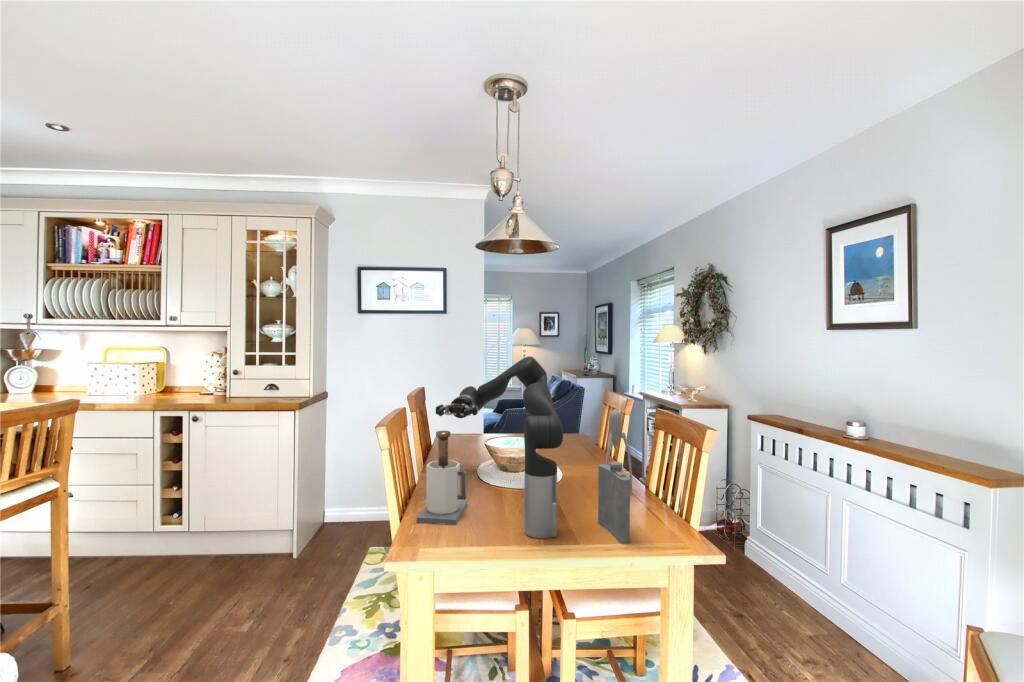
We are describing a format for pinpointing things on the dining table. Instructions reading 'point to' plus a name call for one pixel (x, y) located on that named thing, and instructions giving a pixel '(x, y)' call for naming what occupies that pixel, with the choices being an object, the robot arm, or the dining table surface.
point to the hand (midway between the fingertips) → (452, 413)
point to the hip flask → (614, 501)
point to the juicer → (614, 437)
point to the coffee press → (444, 493)
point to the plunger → (443, 447)
